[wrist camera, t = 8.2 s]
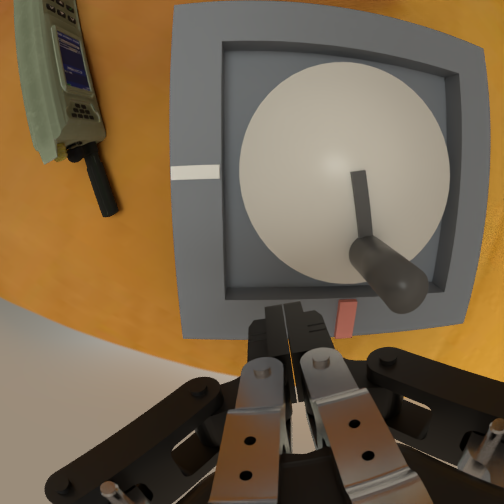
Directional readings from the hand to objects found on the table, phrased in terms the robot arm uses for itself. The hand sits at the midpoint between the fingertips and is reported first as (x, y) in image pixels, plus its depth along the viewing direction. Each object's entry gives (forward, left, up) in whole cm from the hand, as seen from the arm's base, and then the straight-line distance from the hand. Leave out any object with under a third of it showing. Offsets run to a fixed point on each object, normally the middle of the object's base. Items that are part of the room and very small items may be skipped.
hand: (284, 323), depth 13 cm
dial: (-5, -6, -8) cm, 11 cm away
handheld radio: (+15, -15, -11) cm, 24 cm away
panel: (-5, -6, -11) cm, 13 cm away
